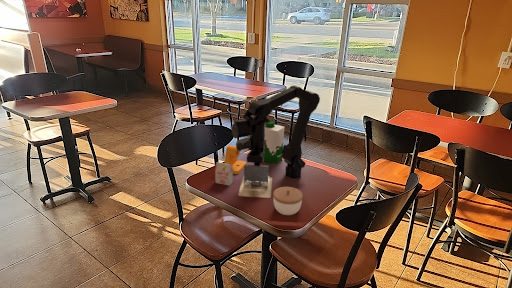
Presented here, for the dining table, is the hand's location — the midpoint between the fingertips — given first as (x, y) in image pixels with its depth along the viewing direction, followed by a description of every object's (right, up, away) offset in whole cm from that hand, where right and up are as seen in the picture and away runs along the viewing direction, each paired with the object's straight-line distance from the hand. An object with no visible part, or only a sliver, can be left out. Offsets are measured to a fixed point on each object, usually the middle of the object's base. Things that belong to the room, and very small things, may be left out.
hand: (256, 168), depth 136 cm
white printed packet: (-14, -7, +5) cm, 17 cm away
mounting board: (0, -9, +2) cm, 9 cm away
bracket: (-10, -2, +18) cm, 21 cm away
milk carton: (+8, +1, +28) cm, 29 cm away
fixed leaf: (0, -6, +5) cm, 8 cm away
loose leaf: (0, -3, -1) cm, 3 cm away
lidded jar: (+11, -15, -14) cm, 23 cm away
